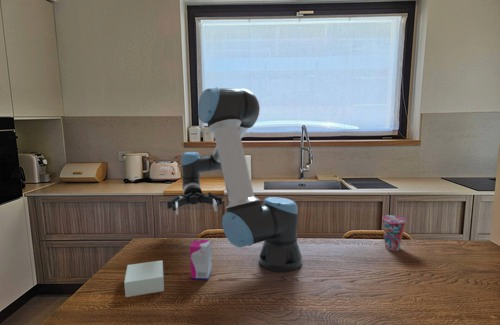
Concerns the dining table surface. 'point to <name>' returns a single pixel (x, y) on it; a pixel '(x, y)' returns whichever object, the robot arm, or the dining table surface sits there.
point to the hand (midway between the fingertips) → (196, 209)
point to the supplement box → (200, 259)
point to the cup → (393, 231)
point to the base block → (144, 278)
